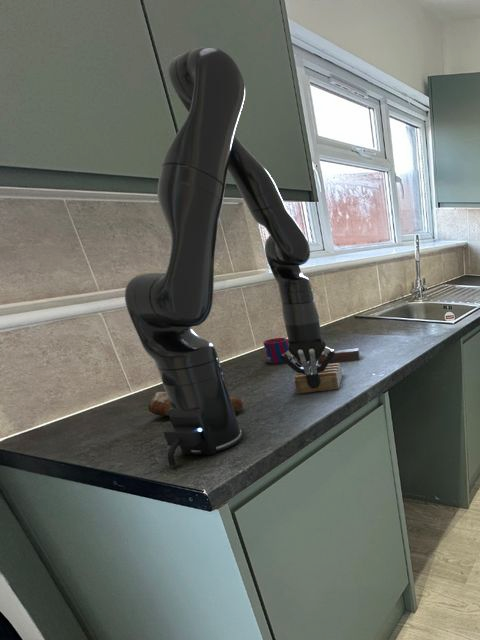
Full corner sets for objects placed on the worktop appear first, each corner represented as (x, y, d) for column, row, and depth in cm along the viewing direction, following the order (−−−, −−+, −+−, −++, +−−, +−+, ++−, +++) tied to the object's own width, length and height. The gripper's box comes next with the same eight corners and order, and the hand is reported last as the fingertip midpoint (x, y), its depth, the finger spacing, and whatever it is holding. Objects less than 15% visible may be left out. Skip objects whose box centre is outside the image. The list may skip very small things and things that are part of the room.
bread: (170, 409, 100) (163, 388, 98) (249, 408, 99) (243, 386, 97) (149, 421, 94) (140, 398, 92) (232, 419, 93) (225, 397, 91)
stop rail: (359, 359, 133) (358, 350, 131) (298, 366, 128) (296, 356, 127) (360, 357, 135) (358, 348, 134) (300, 363, 131) (298, 354, 130)
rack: (338, 388, 109) (335, 373, 108) (297, 393, 107) (293, 378, 105) (342, 376, 118) (339, 362, 117) (304, 380, 116) (301, 366, 114)
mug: (266, 360, 134) (260, 340, 132) (298, 354, 140) (294, 334, 138) (271, 365, 129) (266, 344, 127) (305, 358, 135) (300, 338, 133)
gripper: (267, 325, 96) (283, 395, 102) (328, 321, 99) (340, 389, 105) (275, 319, 102) (290, 385, 108) (332, 315, 106) (343, 379, 112)
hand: (315, 387), depth 107 cm, fingers closed
